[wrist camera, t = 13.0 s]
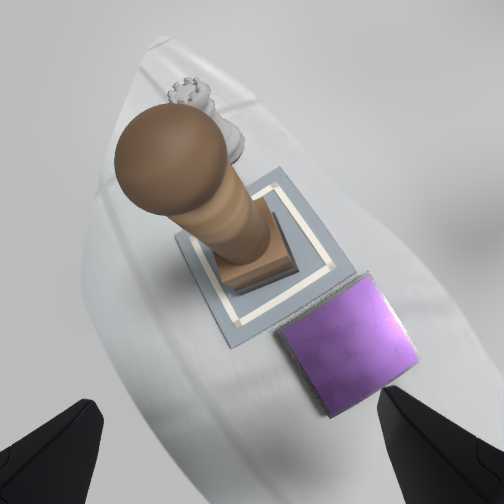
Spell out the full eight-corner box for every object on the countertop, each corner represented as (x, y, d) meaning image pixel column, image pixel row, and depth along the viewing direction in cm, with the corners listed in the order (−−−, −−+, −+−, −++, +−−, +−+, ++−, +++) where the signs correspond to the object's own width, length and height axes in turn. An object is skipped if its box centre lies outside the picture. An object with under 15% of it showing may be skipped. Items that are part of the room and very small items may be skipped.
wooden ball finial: (299, 271, 20) (232, 142, 6) (240, 295, 20) (85, 223, 7) (276, 216, 21) (194, 55, 8) (222, 240, 22) (86, 120, 8)
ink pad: (417, 358, 16) (424, 360, 15) (329, 414, 17) (329, 421, 15) (365, 274, 19) (369, 269, 17) (279, 329, 19) (274, 329, 18)
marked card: (355, 272, 19) (356, 270, 19) (233, 348, 20) (231, 348, 19) (280, 168, 23) (279, 165, 22) (176, 236, 24) (173, 234, 23)
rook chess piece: (192, 170, 25) (145, 115, 18) (207, 130, 26) (169, 72, 18) (239, 172, 24) (201, 110, 16) (251, 130, 25) (222, 65, 17)
